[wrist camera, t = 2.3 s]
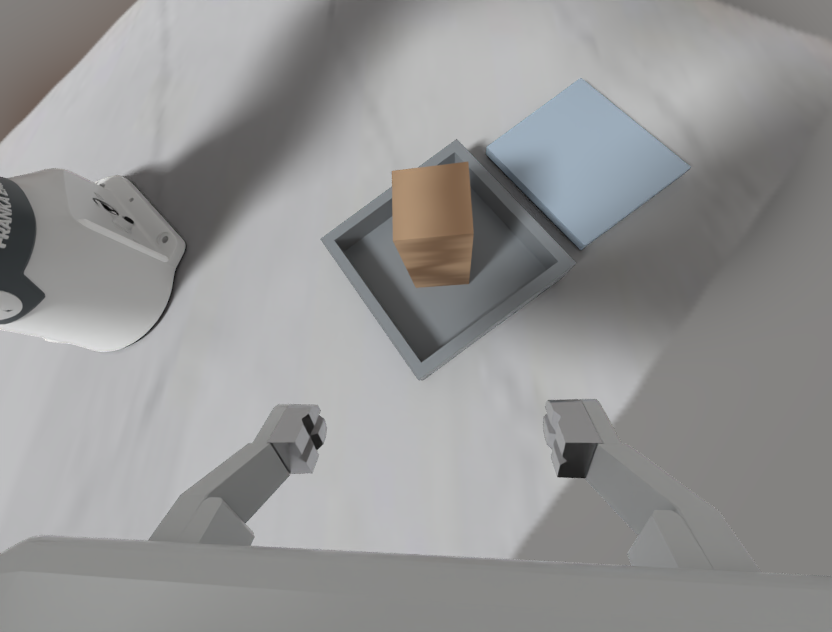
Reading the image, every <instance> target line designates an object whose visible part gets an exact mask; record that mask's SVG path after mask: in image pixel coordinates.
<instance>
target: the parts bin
mask: <svg viewBox="0 0 832 632" xmlns="http://www.w3.org/2000/svg"><path fill="white" fill-rule="evenodd" d="M460 162H468V163H469V177H470V190H471V204H472V217H473V231H474V235H473V246H472V257H471V267H470V278H469V284H464V285H449V286H435V287H421V288H416V287H415V285H414V283H413V281H412V279H411V277H410V275H409V273H408V271H407V269H406V267H405V265H404V263H403V261H402V259H401V257H400V255H399V252H398V250H397V248H396V246H395V244H394V242H393V216H392V187H391V188H389V189H388V190H386V191H385V192H384V193H382V194H381V195H380V196H378V197H377V198H376V199H374V200H373V201H371V202H370V203H369V204H367V205H366V206H365V207H363V208H362V209H361V210H359V211H358V212H357V213H355V214H354V215H352V216H351V217H350V218H348V219H347V220H346V221H344V222H343V223H342V224H340V225H339V226H337V227H336V228H335V229H333V230H332V231H331V232H329V233H328V234H327V235H325V236H324V237H322V238H321V241H322V242H323V244H324V245H325V247H326V248H327V249H328V251H329V252H330V254H331V255H332V257H333V258H334V259H335V261H336V262H337V264H338V265H339V267H340V268H341V270H342V271H343V272H344V274H345V275H346V277H347V278H348V280H349V281H350V283H351V284H352V285H353V287H354V288H355V290H356V291H357V293H358V294H359V295H360V297H361V298H362V300H363V301H364V303H365V304H366V306H367V307H368V308H369V310H370V311H371V313H372V314H373V316H374V317H375V319H376V320H377V321H378V323H379V324H380V326H381V327H382V329H383V330H384V331H385V333H386V334H387V336H388V337H389V339H390V340H391V342H392V343H393V344H394V346H395V347H396V349H397V350H398V352H399V353H400V355H401V356H402V357H403V359H404V360H405V362H406V363H407V365H408V366H409V367H410V369H411V370H412V372H413V373H414V375H415V376H416V378H417V379H418V380H424V379H426V378H427V377H428V376H430V375H431V374H432V373H434V372H435V371H436V370H438V369H439V368H440V367H442V366H443V365H445V364H446V363H447V362H449V361H450V360H451V359H453V358H454V357H455V356H457V355H458V354H459V353H461V352H462V351H463V350H465V349H466V348H468V347H469V346H470V345H472V344H473V343H474V342H476V341H477V340H478V339H480V338H481V337H482V336H484V335H485V334H486V333H488V332H489V331H491V330H492V329H493V328H495V327H496V326H497V325H499V324H500V323H501V322H503V321H504V320H505V319H507V318H508V317H509V316H511V315H512V314H514V313H515V312H516V311H518V310H519V309H520V308H522V307H523V306H524V305H526V304H527V303H528V302H530V301H531V300H532V299H534V298H535V297H537V296H538V295H539V294H541V293H542V292H543V291H545V290H546V289H547V288H549V287H550V286H551V285H553V284H554V283H555V282H557V281H558V280H560V279H561V278H562V277H563V276H564V275H565V274H566V273H567V272H568V271H569V270H570V269H571V268H572V267H573V266H574V265H575V264H576V262H575V261H574V260H573V259H572V258H571V257H570V256H569V255H568V253H567V252H566V251H565V250H564V249H563V248H562V247H561V246H560V245H559V244H558V243H557V242H556V241H555V240H554V239H553V238H552V237H551V236H550V235H549V234H548V233H547V232H546V231H545V230H544V229H543V228H542V227H541V226H540V225H539V224H538V222H537V221H536V220H535V219H534V218H533V217H532V216H531V215H530V214H529V213H528V212H527V211H526V210H525V209H524V208H523V207H522V206H521V205H520V204H519V203H518V202H517V201H516V200H515V199H514V198H513V197H512V196H511V195H510V194H509V193H508V191H507V190H506V189H505V188H504V187H503V186H502V185H501V184H500V183H499V182H498V181H497V180H496V179H495V178H494V177H493V176H492V175H491V174H490V173H489V172H488V171H487V170H486V169H485V168H484V167H483V166H482V165H481V164H480V163H479V162H478V160H477V159H476V158H475V157H474V156H473V155H472V154H471V153H470V152H469V151H468V150H467V149H466V148H465V147H464V146H463V145H462V144H461V143H460V142H459V141H458V140H457V139H456V140H455V141H453V142H452V143H451V144H449V145H448V146H446V147H445V148H444V149H442V150H441V151H440V152H438V153H437V154H436V155H434V156H433V157H431V158H430V159H429V160H427V161H426V162H425V163H423V164H422V165H421V166H419V167H418V168H420V167H428V166H436V165H444V164H452V163H460Z"/></svg>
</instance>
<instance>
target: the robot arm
mask: <svg viewBox="0 0 832 632" xmlns="http://www.w3.org/2000/svg"><path fill="white" fill-rule="evenodd" d="M184 251H185V242H184V240H183V239H182V238H181V237H180V236H179V235H178V234H177V232H176V231H175V230H174V229H173V228H172V227H171V226H170V225H169V224H168V222H167V221H166V220H165V219H164V218H163V217H162V216H161V215H160V214H159V212H158V211H157V210H156V209H155V208H154V207H153V206H152V205H151V204H150V202H149V201H148V200H147V199H146V198H145V197H144V196H143V195H142V194H141V192H140V191H139V190H138V189H137V188H136V187H135V186H134V185H133V184H132V183H131V182H130V181H129V180H128V179H126V178H124V177H122V176H120V175H116V176H110V177H106V178H103V179H101V180H98V181H96V182H92V181H90V180H88V179H86V178H84V177H82V176H80V175H78V174H75V173H73V172H71V171H68V170H65V169H59V168H51V169H44V170H40V171H36V172H32V173H28V174H24V175H20V176H15V177H10V178H3V177H0V330H3V331H9V332H14V333H20V334H25V335H30V336H36V337H41V338H43V339H44V340H46V341H48V342H54V343H60V344H65V343H69V344H72V345H76V346H80V347H83V348H86V349H89V350H93V351H97V352H109V351H115V350H119V349H121V348H124V347H126V346H128V345H130V344H132V343H134V342H135V341H137V340H138V339H139V338H141V337H142V336H143V335H144V334H146V333H147V332H148V331H149V330H150V329H151V327H152V326H153V325H154V324H155V323H156V321H157V320H158V319H159V317H160V316H161V314H162V312H163V311H164V309H165V307H166V305H167V302H168V300H169V297H170V294H171V290H172V285H173V279H174V273H175V269H176V267H177V265H178V263H179V261H180V260H181V258H182V256H183V253H184ZM545 409H546V412H547V414H546V415H545V416H544V418H543V432H544V436H545V440H546V443H547V445H548V446H549V447H550V448H551V449H552V454H551V459H552V463H553V466H554V469H555V472H556V475H557V477H564V478H586V481H587V482H588V483H589V484H590V485H591V486H592V487H593V488H594V489H595V490H596V492H597V493H598V494H599V495H600V496H601V497H602V498H603V499H604V500H605V501H606V502H607V503H608V504H609V505H610V507H611V508H612V509H613V510H614V511H615V512H616V513H617V514H618V515H619V516H620V517H621V518H622V519H623V520H624V522H625V523H626V524H628V526H629V527H630V528H631V529H632V530H633V531H634V532H635V533H636V534H637V535H638V537H637V539H636V541H635V542H634V544H633V545H632V547H631V549H630V550H629V552H628V554H627V555H628V557H629V560H630V562H631V565H632V566H628V565H608V564H589V563H571V562H551V561H533V560H532V561H531V560H514V559H494V558H475V557H456V556H437V555H418V554H398V553H379V552H360V551H341V550H321V549H302V548H282V547H263V546H251V543H252V541H253V539H254V533H253V532H252V531H251V529H250V528H249V527H248V526H247V525H246V524H245V523H246V522H247V521H248V520H249V519H250V518H251V517H252V516H253V515H254V514H255V513H256V512H257V510H258V509H259V508H260V507H261V506H262V505H263V504H264V503H265V502H266V501H267V500H268V498H269V497H270V496H271V495H272V494H273V493H274V492H275V491H276V490H277V489H278V488H279V487H280V485H281V484H282V483H283V482H284V481H285V480H286V479H287V478H288V477H289V476H290V474H305V473H313V470H314V467H315V465H316V462H317V460H318V457H319V454H318V451H317V450H318V449H319V448H320V447H321V446H322V445H323V444H324V441H325V438H326V432H327V427H326V422H325V419H324V418H322V417H321V416H320V415H319V414H320V411H321V410H320V408H319V406H318V405H301V404H278V405H277V406H275V407H274V408H273V410H272V411H271V413H270V415H269V416H268V418H267V420H266V421H265V423H264V425H263V426H262V428H261V430H260V431H259V433H258V435H257V436H256V438H255V440H254V441H253V443H248V444H247V445H246V446H244V447H243V448H242V449H240V450H239V451H238V452H236V453H235V454H234V455H232V456H231V457H230V458H229V459H227V460H226V461H225V462H223V463H222V464H221V465H219V466H218V467H217V468H215V469H214V470H213V471H211V472H210V473H209V474H207V475H206V476H205V477H203V478H202V479H201V480H200V481H198V482H197V483H196V484H194V485H193V486H192V487H190V488H189V489H188V490H186V491H185V492H184V493H182V494H181V495H180V496H179V498H178V499H177V500H176V502H175V503H174V505H173V506H172V508H171V509H170V510H169V512H168V513H167V515H166V516H165V517H164V519H163V520H162V522H161V523H160V524H159V526H158V527H157V529H156V530H155V531H154V533H153V534H152V536H151V537H150V538H149V540H148V541H147V540H127V539H108V538H88V537H68V536H53V535H40V536H34V537H30V538H27V539H25V540H23V541H21V542H19V543H17V544H15V545H14V546H12V547H10V548H8V549H6V550H5V551H3V552H1V553H0V632H832V576H819V575H801V574H782V573H781V574H780V573H763V572H761V570H760V569H759V567H758V566H757V565H756V563H755V562H754V560H753V559H752V558H751V556H750V555H749V553H748V552H747V550H746V549H745V548H744V546H743V545H742V543H741V542H740V540H739V539H738V538H737V536H736V535H735V533H734V532H733V530H732V529H731V528H730V526H729V525H728V523H727V522H726V520H725V519H724V517H723V516H722V515H721V513H720V512H719V511H718V510H717V509H716V508H714V507H713V506H712V505H710V504H709V503H708V502H706V501H705V500H704V499H702V498H701V497H699V496H698V495H697V494H695V493H694V492H693V491H691V490H690V489H689V488H687V487H686V486H685V485H683V484H682V483H680V482H679V481H678V480H676V479H675V478H674V477H672V476H671V475H670V474H668V473H667V472H665V471H664V470H663V469H661V468H660V467H659V466H657V465H656V464H655V463H653V462H652V461H651V460H649V459H648V458H647V457H645V456H644V455H642V454H641V453H640V452H638V451H637V450H636V449H634V448H633V447H632V446H630V445H629V444H622V442H621V440H620V438H619V437H618V435H617V433H616V431H615V429H614V427H613V426H612V424H611V422H610V420H609V418H608V417H607V415H606V413H605V411H604V409H603V408H602V406H601V404H600V402H599V401H598V400H597V399H580V400H578V399H567V400H547V402H546V406H545Z"/></svg>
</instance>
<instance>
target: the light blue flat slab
mask: <svg viewBox="0 0 832 632" xmlns="http://www.w3.org/2000/svg"><path fill="white" fill-rule="evenodd" d="M486 155H487V156H488V157H489V158H490V159H491V160H492V161H493V162H494V163H495V164H496V165H497V166H498V167H499V168H500V169H501V170H502V171H503V172H504V173H505V174H506V175H507V176H508V177H509V178H510V179H511V180H512V181H513V182H514V183H515V184H516V185H517V186H518V187H519V188H520V189H521V190H522V191H523V192H524V193H525V194H526V195H527V196H528V197H529V198H530V199H531V200H532V201H533V202H534V203H535V204H536V206H537V207H538V208H539V209H540V210H541V211H542V212H543V213H544V214H545V215H546V216H547V217H548V218H549V219H550V220H551V221H552V222H553V223H554V224H555V225H556V226H557V227H558V228H559V229H560V230H561V231H562V232H563V233H564V234H565V235H566V236H567V237H568V238H569V239H570V240H571V241H572V242H573V243H574V244H575V245H576V246H577V247H578V248H579V249H580V250H582V249H583V248H585V247H586V246H587V245H589V244H590V243H591V242H593V241H594V240H595V239H597V238H598V237H599V236H601V235H602V234H603V233H605V232H606V231H608V230H609V229H610V228H612V227H613V226H614V225H616V224H617V223H618V222H620V221H621V220H622V219H624V218H625V217H626V216H628V215H629V214H631V213H632V212H633V211H635V210H636V209H637V208H639V207H640V206H641V205H643V204H644V203H645V202H647V201H648V200H650V199H651V198H652V197H654V196H655V195H656V194H658V193H659V192H660V191H662V190H663V189H664V188H666V187H667V186H668V185H670V184H671V183H673V182H674V181H675V180H677V179H678V178H679V177H681V176H682V175H683V174H684V173H686V172H687V171H688V170H689V169H690V168H691V167H690V166H689V165H688V164H687V163H685V162H684V161H683V160H682V159H681V158H679V157H678V156H677V155H676V154H674V153H673V152H672V151H671V150H669V149H668V148H667V147H666V146H664V145H663V144H662V143H661V142H660V141H658V140H657V139H656V138H655V137H653V136H652V135H651V134H650V133H648V132H647V131H646V130H645V129H644V128H642V127H641V126H640V125H639V124H637V123H636V122H635V121H634V120H632V119H631V118H630V117H629V116H628V115H626V114H625V113H624V112H623V111H621V110H620V109H619V108H618V107H616V106H615V105H614V104H613V103H611V102H610V101H609V100H608V99H607V98H605V97H604V96H603V95H602V94H600V93H599V92H598V91H597V90H595V89H594V88H593V87H592V86H591V85H589V84H588V83H587V82H586V81H584V80H583V79H582V78H580V79H578V80H577V81H576V82H574V83H573V84H572V85H570V86H569V87H567V88H566V89H565V90H563V91H562V92H561V93H559V94H558V95H557V96H555V97H554V98H552V99H551V100H550V101H548V102H547V103H546V104H544V105H543V106H542V107H540V108H539V109H538V110H536V111H535V112H533V113H532V114H531V115H529V116H528V117H527V118H525V119H524V120H523V121H521V122H520V123H518V124H517V125H516V126H514V127H513V128H512V129H510V130H509V131H508V132H506V133H505V134H503V135H502V136H501V137H499V138H498V139H497V140H495V141H494V142H493V143H491V144H490V145H489V146H487V148H486Z"/></svg>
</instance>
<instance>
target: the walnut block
mask: <svg viewBox="0 0 832 632" xmlns="http://www.w3.org/2000/svg"><path fill="white" fill-rule="evenodd" d="M392 216H393V242H394V244H395V246H396V248H397V250H398V252H399V255H400V257H401V259H402V261H403V263H404V265H405V267H406V269H407V271H408V273H409V275H410V277H411V279H412V281H413V283H414V285H415V287H416V288H421V287H435V286H449V285H464V284H469V278H470V267H471V257H472V246H473V235H474V231H473V217H472V204H471V190H470V177H469V163H468V162H460V163H452V164H444V165H436V166H428V167H420V168H412V169H404V170H396V171H392Z"/></svg>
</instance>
